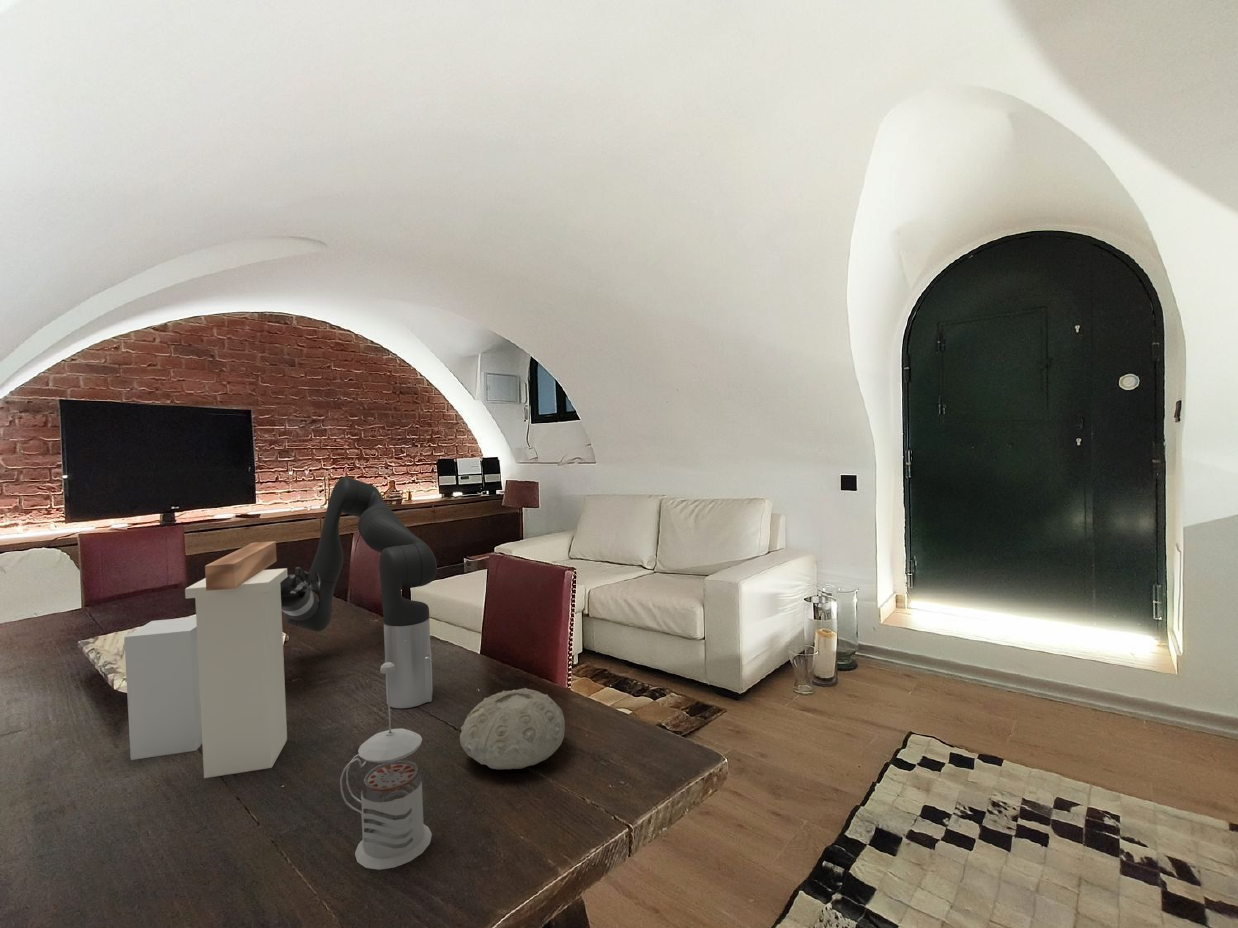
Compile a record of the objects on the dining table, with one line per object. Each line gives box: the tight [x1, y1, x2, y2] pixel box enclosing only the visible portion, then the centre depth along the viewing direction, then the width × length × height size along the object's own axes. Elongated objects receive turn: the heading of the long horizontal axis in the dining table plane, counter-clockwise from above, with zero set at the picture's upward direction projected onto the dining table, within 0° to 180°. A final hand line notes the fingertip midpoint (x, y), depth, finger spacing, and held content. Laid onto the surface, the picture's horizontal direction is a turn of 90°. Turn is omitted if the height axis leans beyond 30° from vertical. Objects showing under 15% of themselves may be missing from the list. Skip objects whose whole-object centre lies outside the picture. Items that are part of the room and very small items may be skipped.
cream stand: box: [184, 567, 288, 779], centre depth 103 cm, size 12×12×32 cm
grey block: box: [123, 616, 202, 761], centre depth 110 cm, size 10×10×22 cm
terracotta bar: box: [204, 540, 278, 591], centre depth 106 cm, size 4×24×4 cm, turn 16°
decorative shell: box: [459, 687, 566, 770], centre depth 103 cm, size 18×18×10 cm
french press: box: [339, 662, 433, 870], centre depth 80 cm, size 10×12×25 cm
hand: (274, 573), depth 123 cm, fingers open, 8 cm apart
